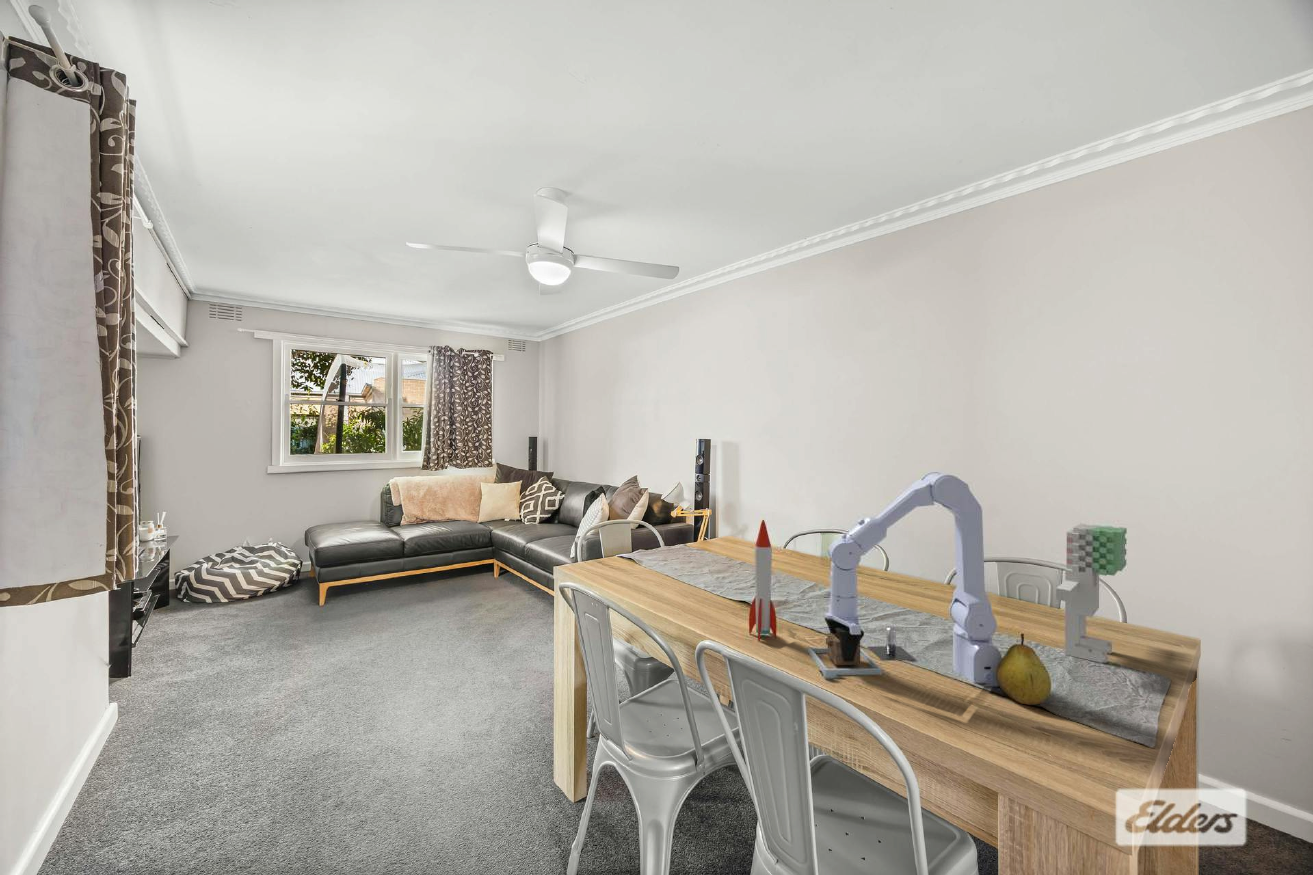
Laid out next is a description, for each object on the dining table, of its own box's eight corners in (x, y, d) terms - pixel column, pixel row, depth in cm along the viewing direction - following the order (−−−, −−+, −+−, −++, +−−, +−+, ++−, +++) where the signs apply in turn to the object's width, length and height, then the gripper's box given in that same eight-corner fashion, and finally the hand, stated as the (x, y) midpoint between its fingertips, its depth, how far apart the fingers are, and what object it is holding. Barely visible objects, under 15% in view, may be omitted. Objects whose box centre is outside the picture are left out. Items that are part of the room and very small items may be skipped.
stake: (916, 664, 124) (916, 634, 124) (881, 664, 123) (881, 634, 123) (900, 650, 132) (900, 622, 132) (867, 650, 131) (867, 622, 131)
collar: (860, 664, 119) (860, 641, 119) (831, 665, 119) (831, 642, 119) (850, 654, 125) (851, 632, 125) (823, 655, 125) (823, 633, 125)
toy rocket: (758, 641, 137) (758, 522, 137) (748, 633, 143) (748, 518, 142) (778, 638, 139) (778, 521, 139) (767, 631, 144) (767, 517, 144)
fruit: (1032, 713, 102) (1032, 649, 102) (986, 692, 110) (986, 632, 110) (1062, 705, 105) (1062, 642, 105) (1015, 684, 113) (1015, 627, 113)
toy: (1114, 681, 115) (1115, 538, 115) (1055, 666, 122) (1056, 532, 122) (1130, 643, 136) (1131, 522, 136) (1079, 632, 143) (1080, 518, 143)
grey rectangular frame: (882, 678, 116) (882, 669, 116) (825, 679, 116) (825, 669, 116) (859, 655, 128) (859, 647, 128) (808, 656, 128) (808, 647, 128)
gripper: (815, 585, 129) (815, 642, 129) (837, 604, 115) (837, 669, 115) (845, 585, 129) (845, 642, 129) (870, 604, 115) (870, 668, 115)
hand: (843, 655), depth 122 cm, fingers closed on collar, 5 cm apart
